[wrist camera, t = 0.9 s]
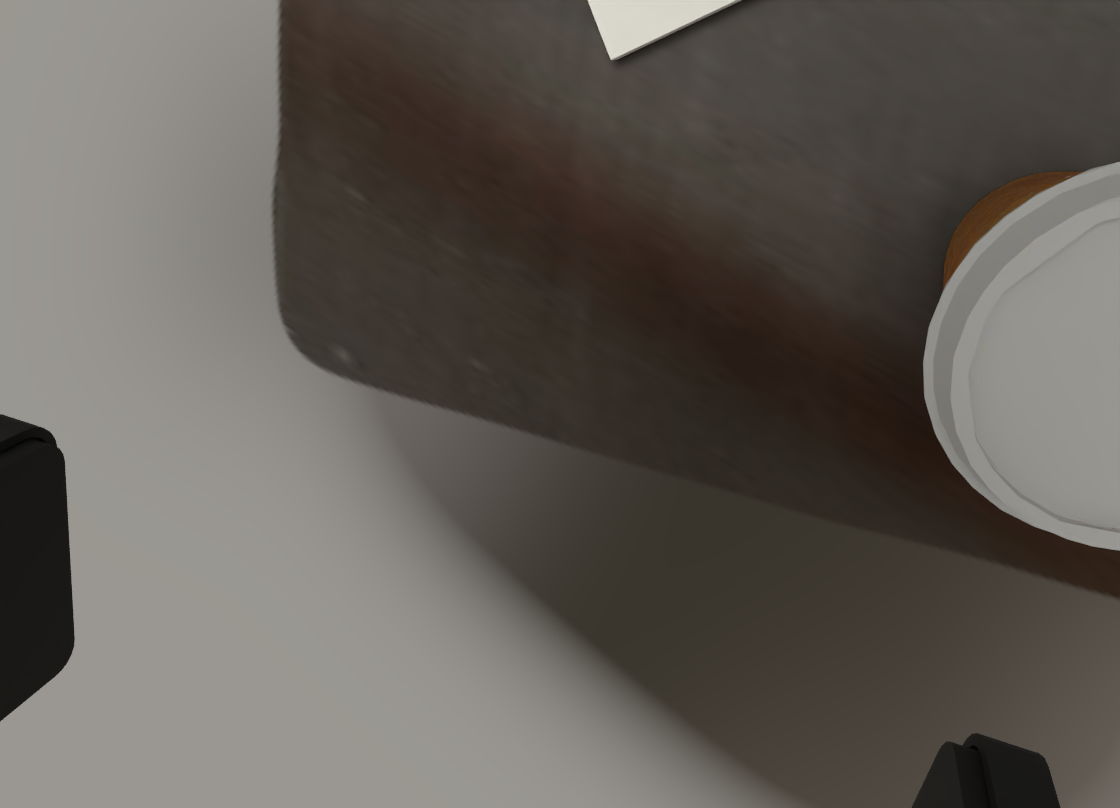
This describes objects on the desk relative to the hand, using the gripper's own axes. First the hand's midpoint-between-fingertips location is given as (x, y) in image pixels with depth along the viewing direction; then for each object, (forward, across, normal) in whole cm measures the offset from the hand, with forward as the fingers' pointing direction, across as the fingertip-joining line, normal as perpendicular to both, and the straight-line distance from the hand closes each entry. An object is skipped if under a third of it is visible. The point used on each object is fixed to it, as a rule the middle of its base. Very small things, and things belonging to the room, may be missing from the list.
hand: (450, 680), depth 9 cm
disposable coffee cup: (+27, -11, -1) cm, 29 cm away
